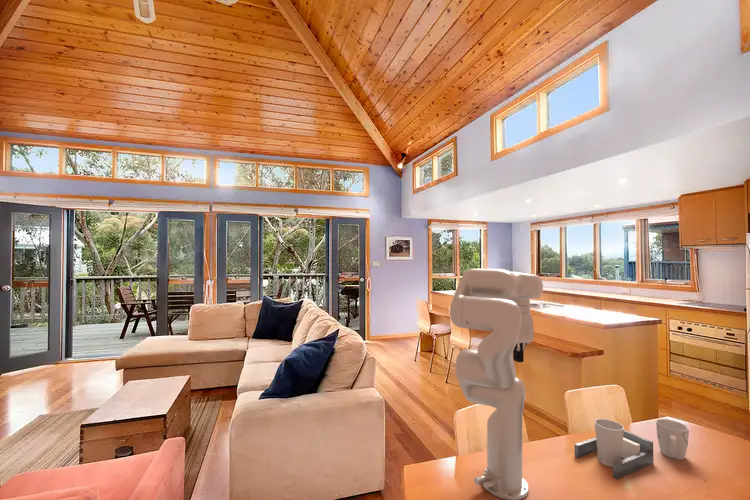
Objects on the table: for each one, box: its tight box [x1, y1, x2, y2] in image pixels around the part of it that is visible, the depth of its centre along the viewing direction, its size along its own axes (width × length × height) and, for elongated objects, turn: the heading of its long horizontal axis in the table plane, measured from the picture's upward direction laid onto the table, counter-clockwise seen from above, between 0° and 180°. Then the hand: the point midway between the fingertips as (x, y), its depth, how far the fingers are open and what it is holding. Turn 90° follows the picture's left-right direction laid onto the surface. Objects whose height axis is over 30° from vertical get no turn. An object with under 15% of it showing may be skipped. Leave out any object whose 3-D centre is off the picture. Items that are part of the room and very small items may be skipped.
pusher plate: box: [621, 437, 640, 459], centre depth 116 cm, size 2×10×6 cm, turn 25°
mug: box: [655, 418, 690, 460], centre depth 116 cm, size 11×8×10 cm
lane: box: [574, 429, 655, 480], centre depth 114 cm, size 19×13×7 cm
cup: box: [594, 418, 625, 468], centre depth 113 cm, size 8×8×12 cm
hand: (518, 361), depth 124 cm, fingers closed
